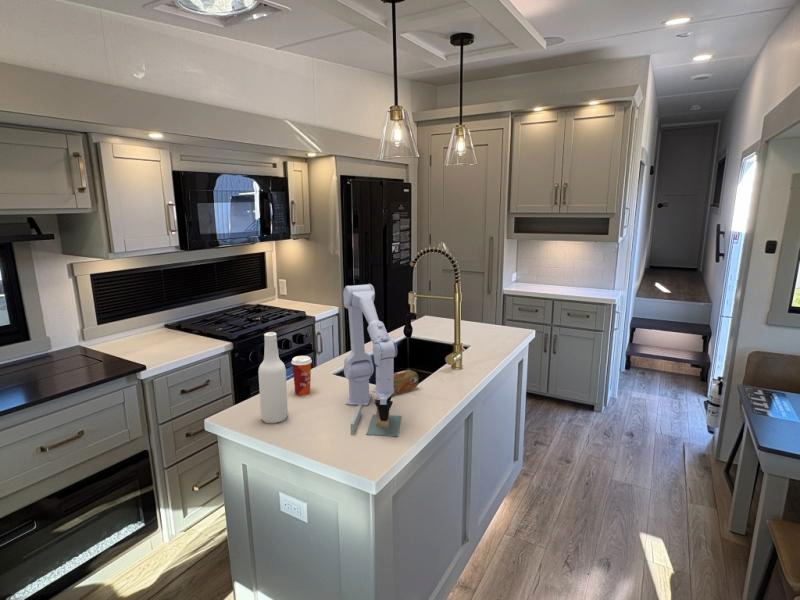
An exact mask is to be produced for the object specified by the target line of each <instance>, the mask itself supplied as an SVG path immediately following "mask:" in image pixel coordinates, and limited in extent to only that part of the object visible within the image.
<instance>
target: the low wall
mask: <svg viewBox="0 0 800 600" xmlns="http://www.w3.org/2000/svg"><path fill="white" fill-rule="evenodd" d="M362 406H363V405H357V407H356V411H355V413H354V415H353V417H352V420H351V422H350V434H351V435H354V434H355V432H356V430H357V426H358V425H359V423H360V420H361V417H362V414H363V413H362Z"/></svg>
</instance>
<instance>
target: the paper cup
mask: <svg viewBox="0 0 800 600" xmlns="http://www.w3.org/2000/svg"><path fill="white" fill-rule="evenodd" d="M290 363H291V365H292V374H293V382H294V383H293V384H294V391H295V395H297V396H303V395H304V396H308V395H309V394H310V393H311V377H312V376H311V374H312V373H311V372H312V370H311V369H312V363H313V360H312V358H311V357H310V356H308V355H297V356H294V357H293V358H292V360H291V362H290Z"/></svg>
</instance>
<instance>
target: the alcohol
mask: <svg viewBox="0 0 800 600" xmlns="http://www.w3.org/2000/svg"><path fill="white" fill-rule="evenodd" d="M277 335H278V334H277V332H275V331H269V332H266V333H264V334H263V336H264V337H263V339H264V352H263V353H264V355H263V361H262V362H261V363H260V364H259V367H258V371H257V373H258V384H259V385H258V388H259V401H260V402H259V403H260V404H259V405H260V419H261V420H262V421H263V422H264V423H266V422H267V423H266V424H278V423H277V422H279V423H281V421H282V422H284V421H285V420H286V419H287V418H288V415H289V413H288V411H289V410H288V391H287V390H288V388H287V369H286V366H285V363H284V362H283V361H282V360H281V359H280V357H279V348H278V342H277V340H278V339H277V338H278V336H277ZM283 420H284V421H283Z"/></svg>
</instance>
